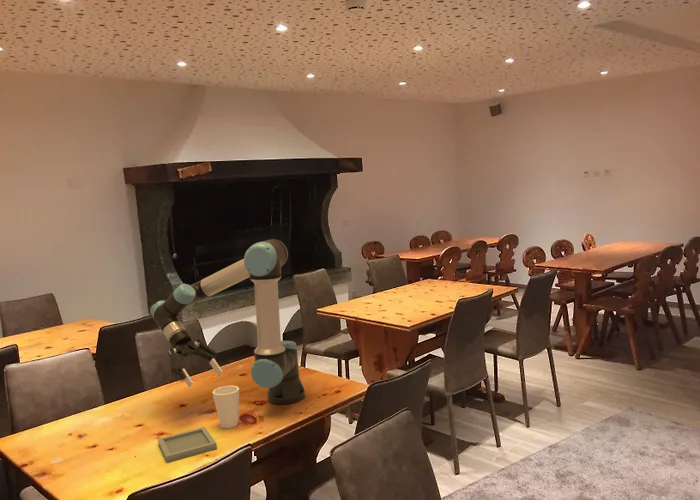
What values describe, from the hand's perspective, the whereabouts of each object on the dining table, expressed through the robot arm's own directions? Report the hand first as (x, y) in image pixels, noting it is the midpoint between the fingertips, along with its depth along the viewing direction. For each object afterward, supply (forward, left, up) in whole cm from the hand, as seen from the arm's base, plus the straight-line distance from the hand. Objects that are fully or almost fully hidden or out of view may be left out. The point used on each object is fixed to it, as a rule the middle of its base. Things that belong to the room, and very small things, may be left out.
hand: (206, 379), depth 211 cm
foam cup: (-5, +9, -16) cm, 19 cm away
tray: (+12, +18, -15) cm, 27 cm away
